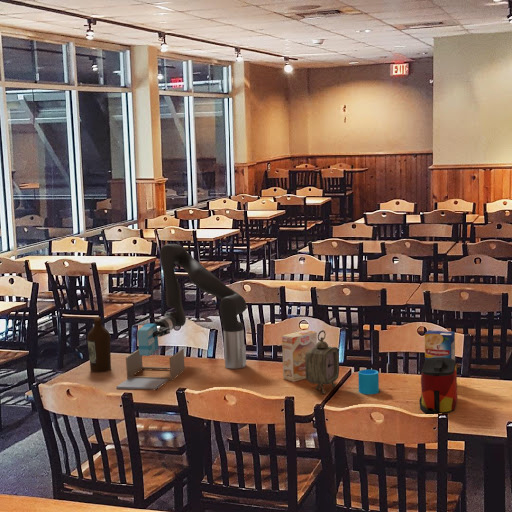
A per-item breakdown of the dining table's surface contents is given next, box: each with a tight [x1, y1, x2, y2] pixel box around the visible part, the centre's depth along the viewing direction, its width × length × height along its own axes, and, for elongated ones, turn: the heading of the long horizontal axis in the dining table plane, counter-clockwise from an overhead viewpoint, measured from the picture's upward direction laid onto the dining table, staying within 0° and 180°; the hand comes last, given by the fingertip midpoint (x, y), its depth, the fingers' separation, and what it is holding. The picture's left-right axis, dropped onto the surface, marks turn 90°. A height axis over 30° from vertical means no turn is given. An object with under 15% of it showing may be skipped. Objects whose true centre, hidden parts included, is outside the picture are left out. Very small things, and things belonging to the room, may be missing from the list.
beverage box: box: [424, 329, 456, 361], centre depth 358 cm, size 7×11×22 cm, turn 65°
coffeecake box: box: [281, 329, 318, 382], centre depth 379 cm, size 15×7×20 cm, turn 131°
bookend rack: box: [125, 348, 186, 381], centre depth 394 cm, size 21×17×10 cm
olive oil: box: [86, 316, 112, 373], centre depth 406 cm, size 11×11×25 cm
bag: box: [419, 357, 458, 415], centre depth 332 cm, size 30×14×16 cm, turn 164°
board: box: [116, 378, 168, 390], centre depth 378 cm, size 18×14×1 cm
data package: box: [136, 323, 159, 357], centre depth 386 cm, size 12×4×12 cm, turn 165°
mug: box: [357, 369, 380, 395], centre depth 356 cm, size 12×8×8 cm
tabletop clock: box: [305, 329, 340, 395], centre depth 358 cm, size 14×9×25 cm, turn 151°
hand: (148, 335), depth 386 cm, fingers closed on data package, 4 cm apart
